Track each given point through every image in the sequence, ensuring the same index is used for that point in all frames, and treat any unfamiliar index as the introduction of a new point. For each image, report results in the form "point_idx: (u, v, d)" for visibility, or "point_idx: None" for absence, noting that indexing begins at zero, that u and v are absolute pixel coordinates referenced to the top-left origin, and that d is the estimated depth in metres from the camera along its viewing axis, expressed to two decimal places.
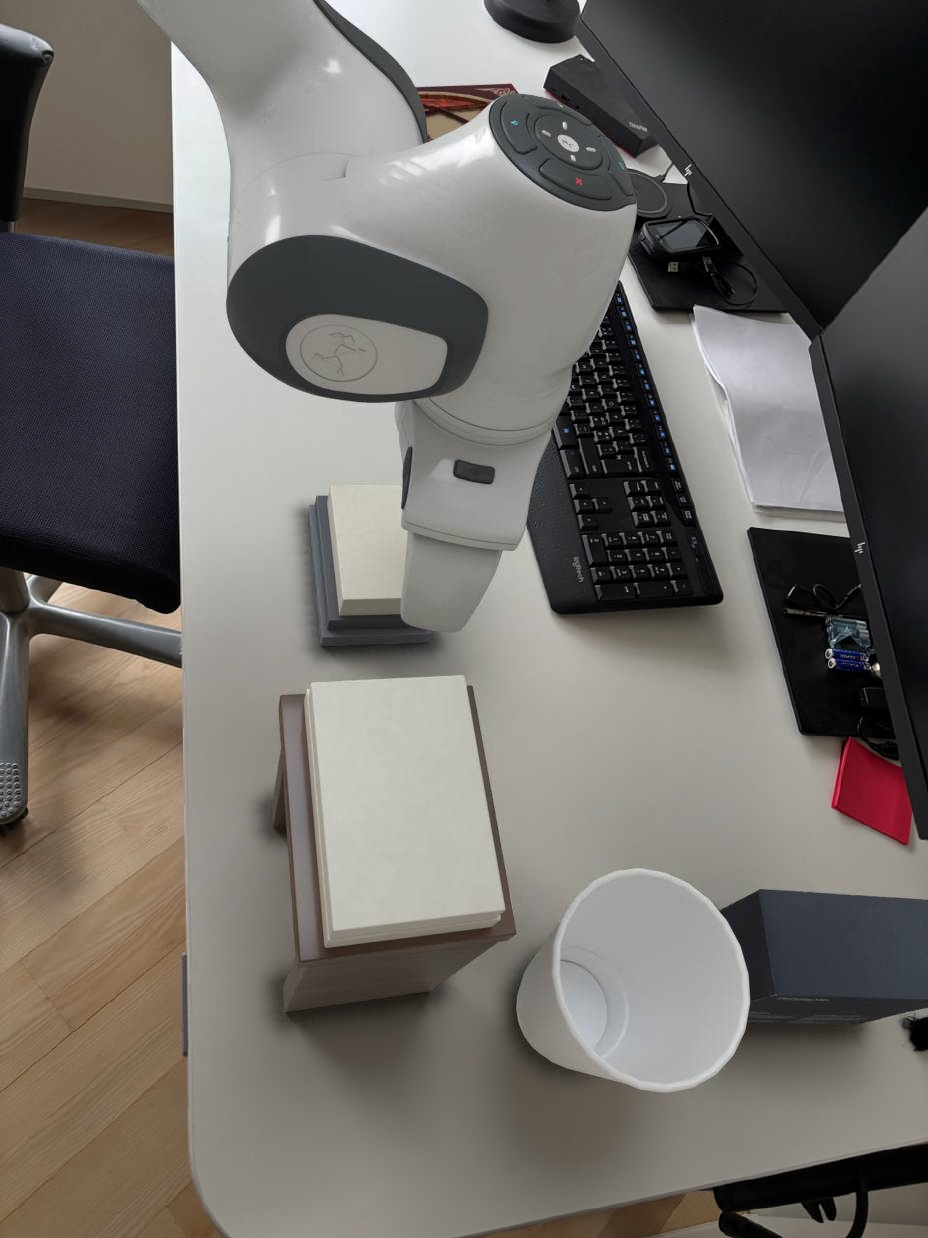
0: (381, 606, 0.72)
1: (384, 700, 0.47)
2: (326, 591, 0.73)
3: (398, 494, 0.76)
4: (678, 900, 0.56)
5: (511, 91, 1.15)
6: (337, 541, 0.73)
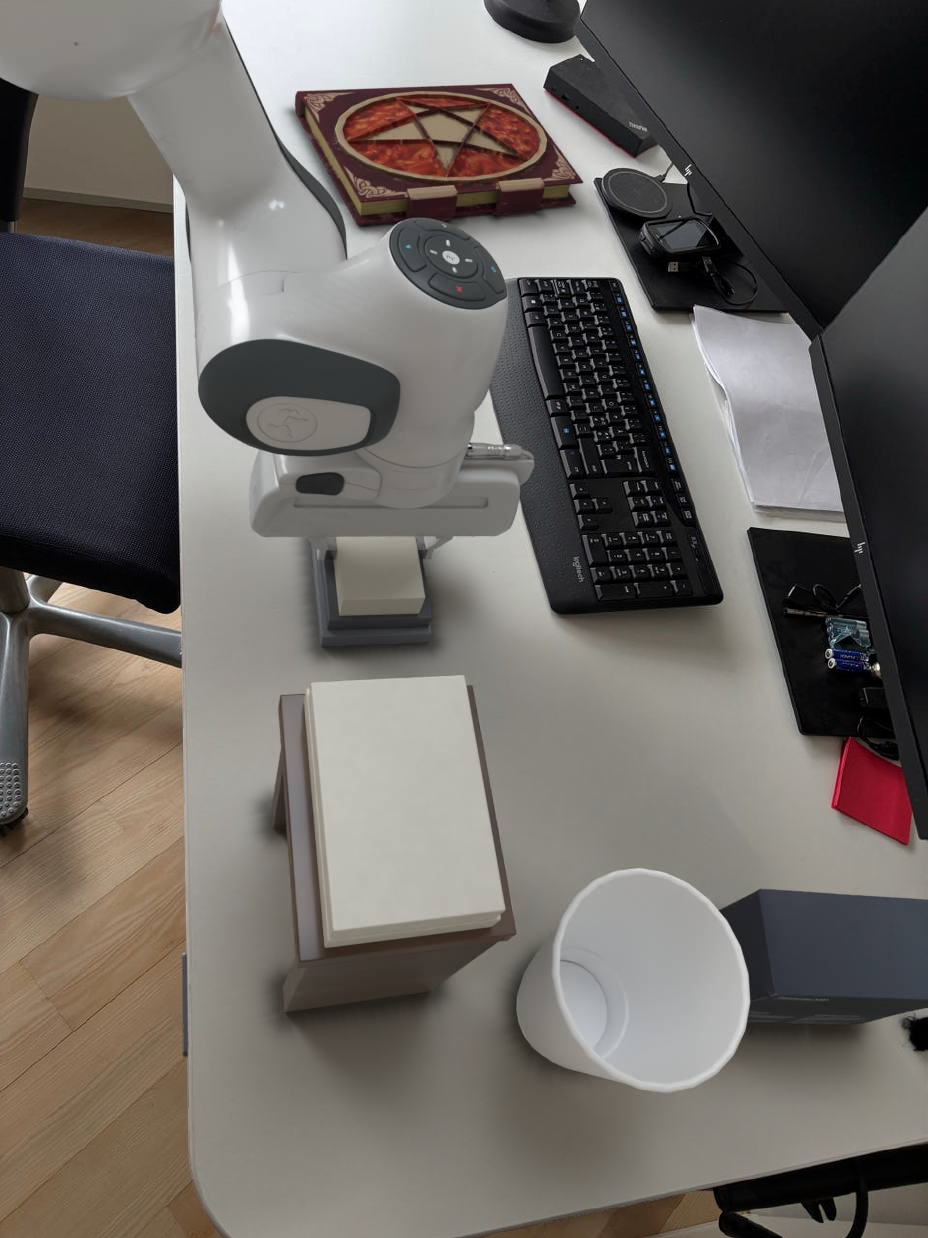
0: (381, 606, 0.72)
1: (384, 700, 0.47)
2: (326, 591, 0.73)
3: None
4: (678, 900, 0.56)
5: (511, 91, 1.15)
6: (337, 541, 0.73)
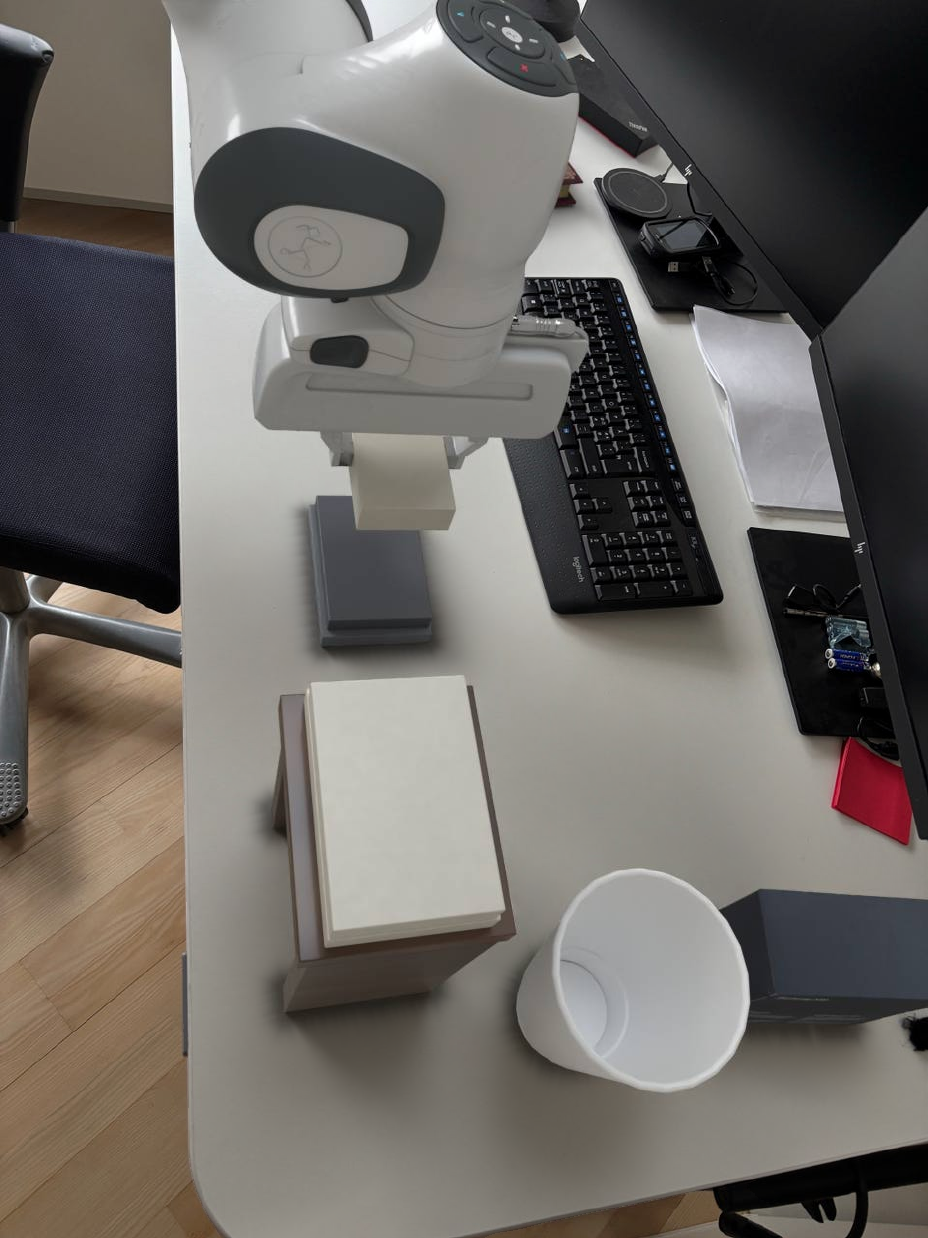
0: (405, 519, 0.62)
1: (384, 700, 0.47)
2: (326, 591, 0.73)
3: None
4: (678, 900, 0.56)
5: None
6: (354, 444, 0.63)
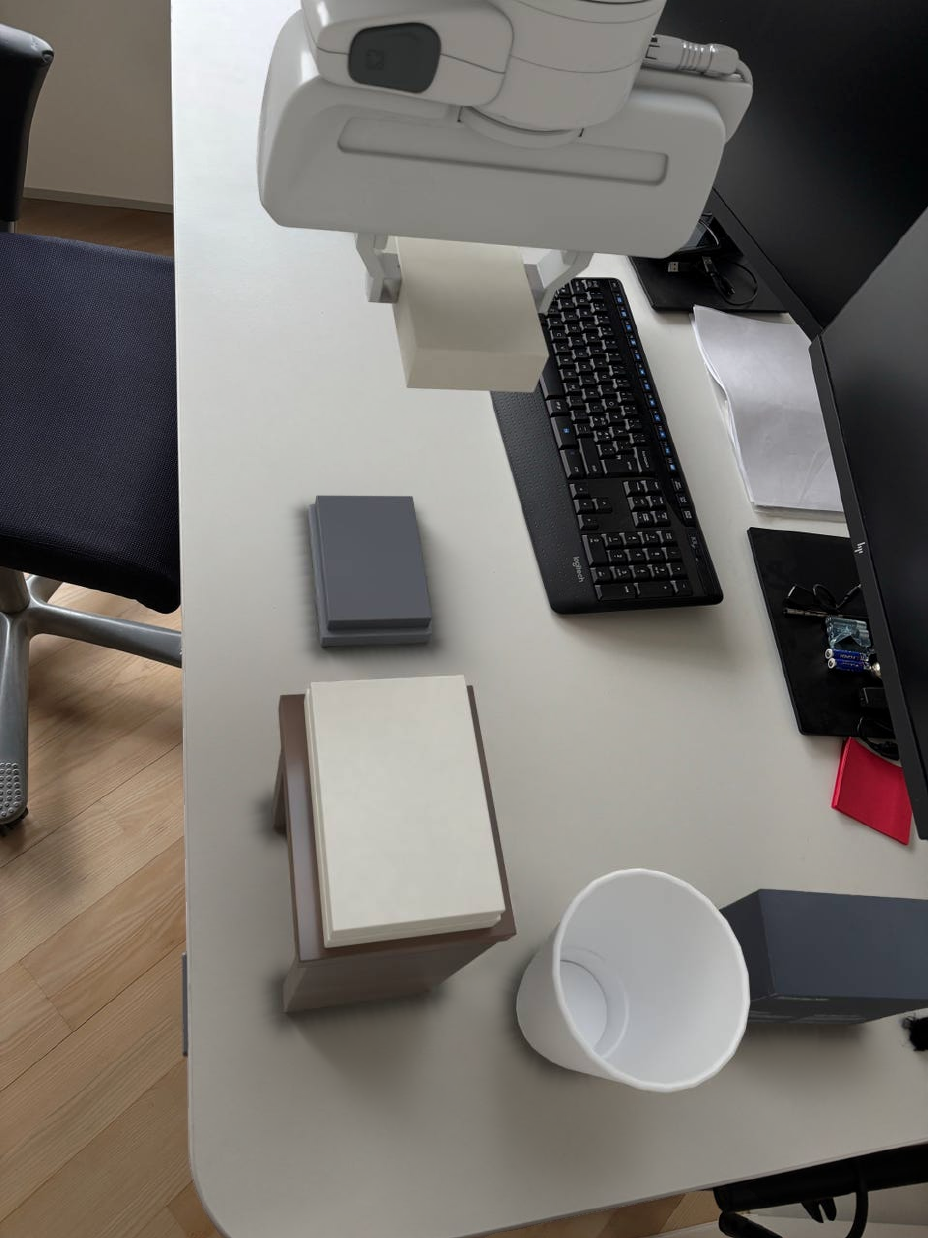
0: (476, 371, 0.44)
1: (384, 700, 0.47)
2: (326, 591, 0.73)
3: None
4: (678, 900, 0.56)
5: None
6: (402, 266, 0.44)
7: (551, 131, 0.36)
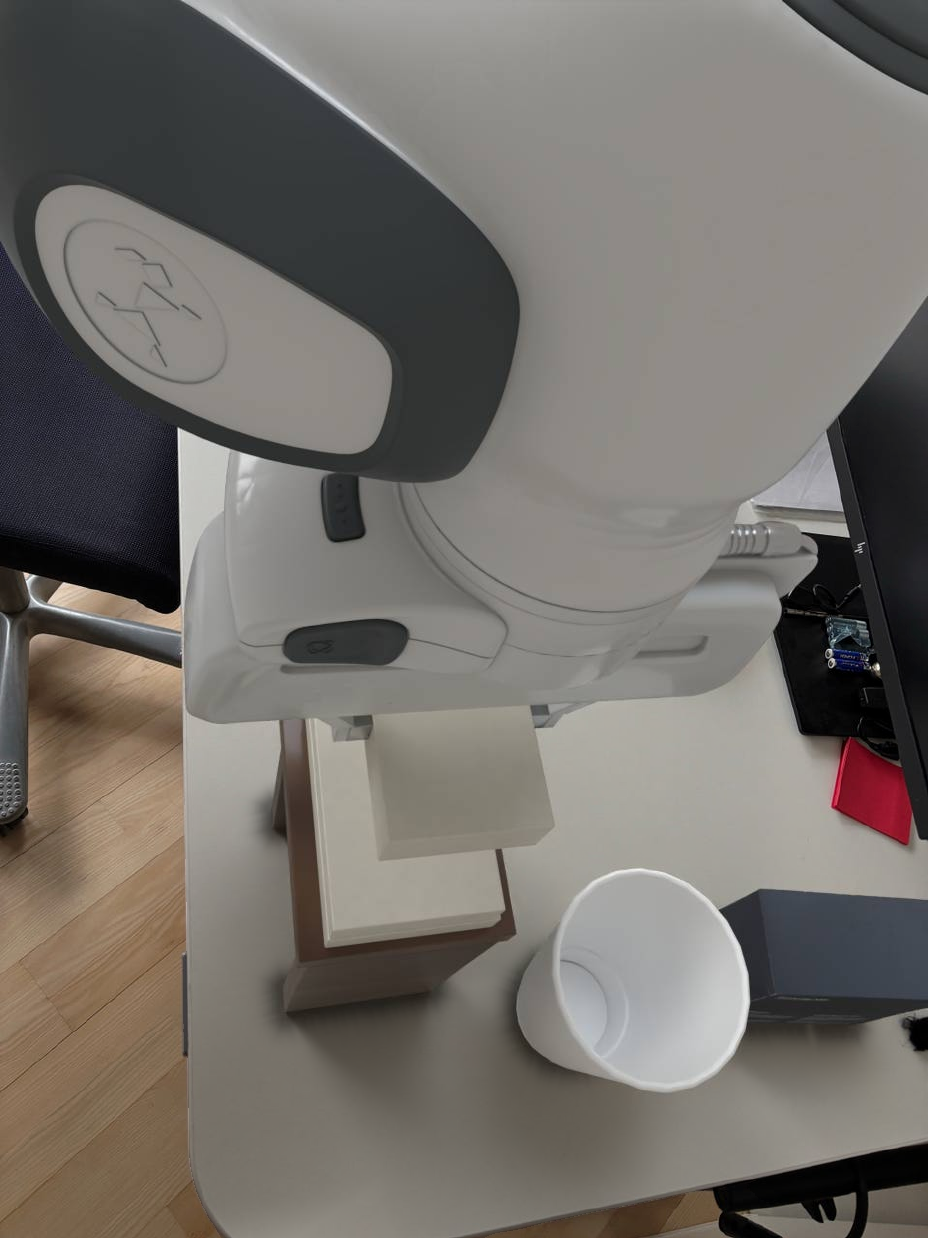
0: (465, 844, 0.35)
1: None
2: None
3: None
4: (678, 900, 0.56)
5: None
6: None
7: None
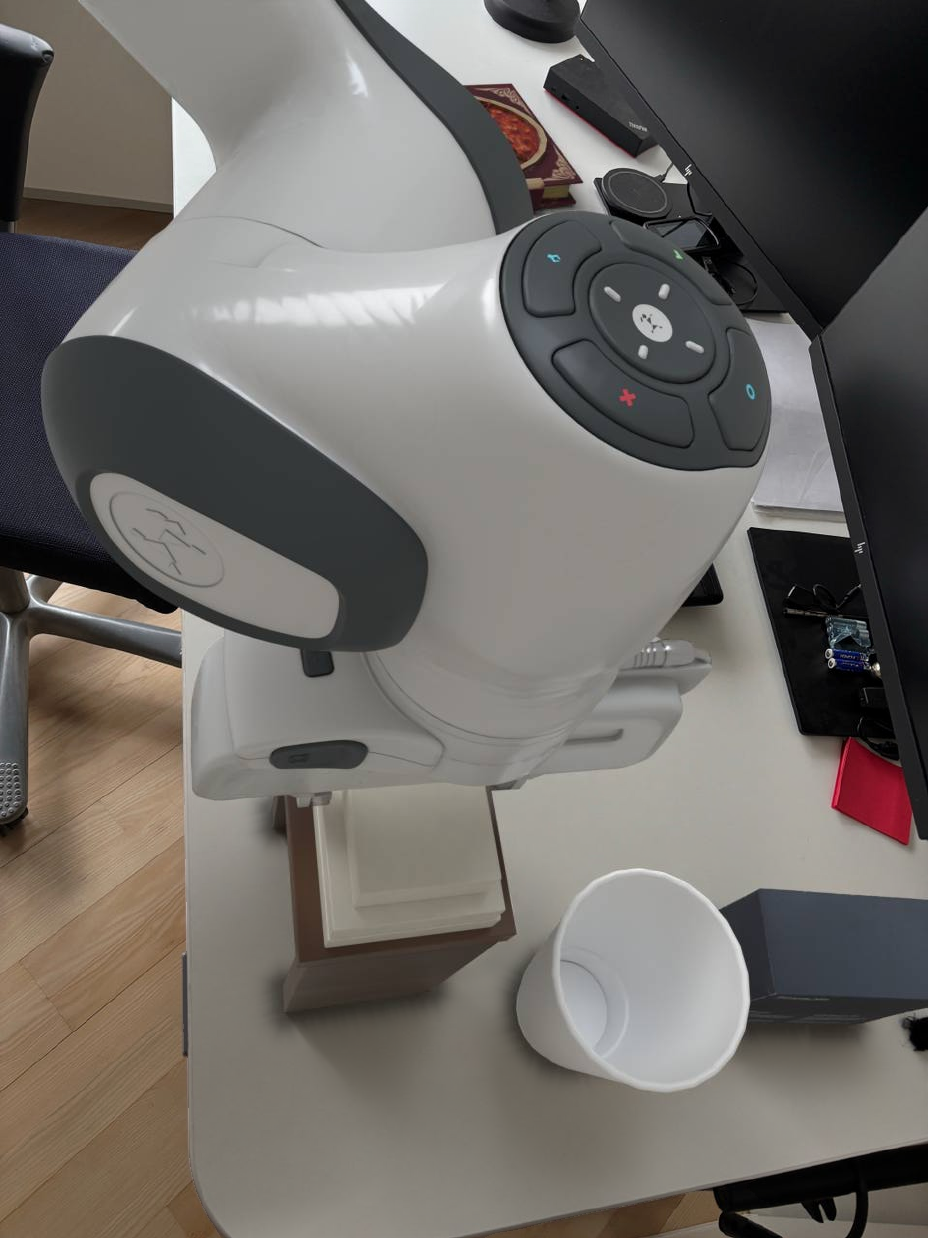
0: (425, 894, 0.42)
1: None
2: None
3: None
4: (678, 900, 0.56)
5: (511, 91, 1.15)
6: None
7: None
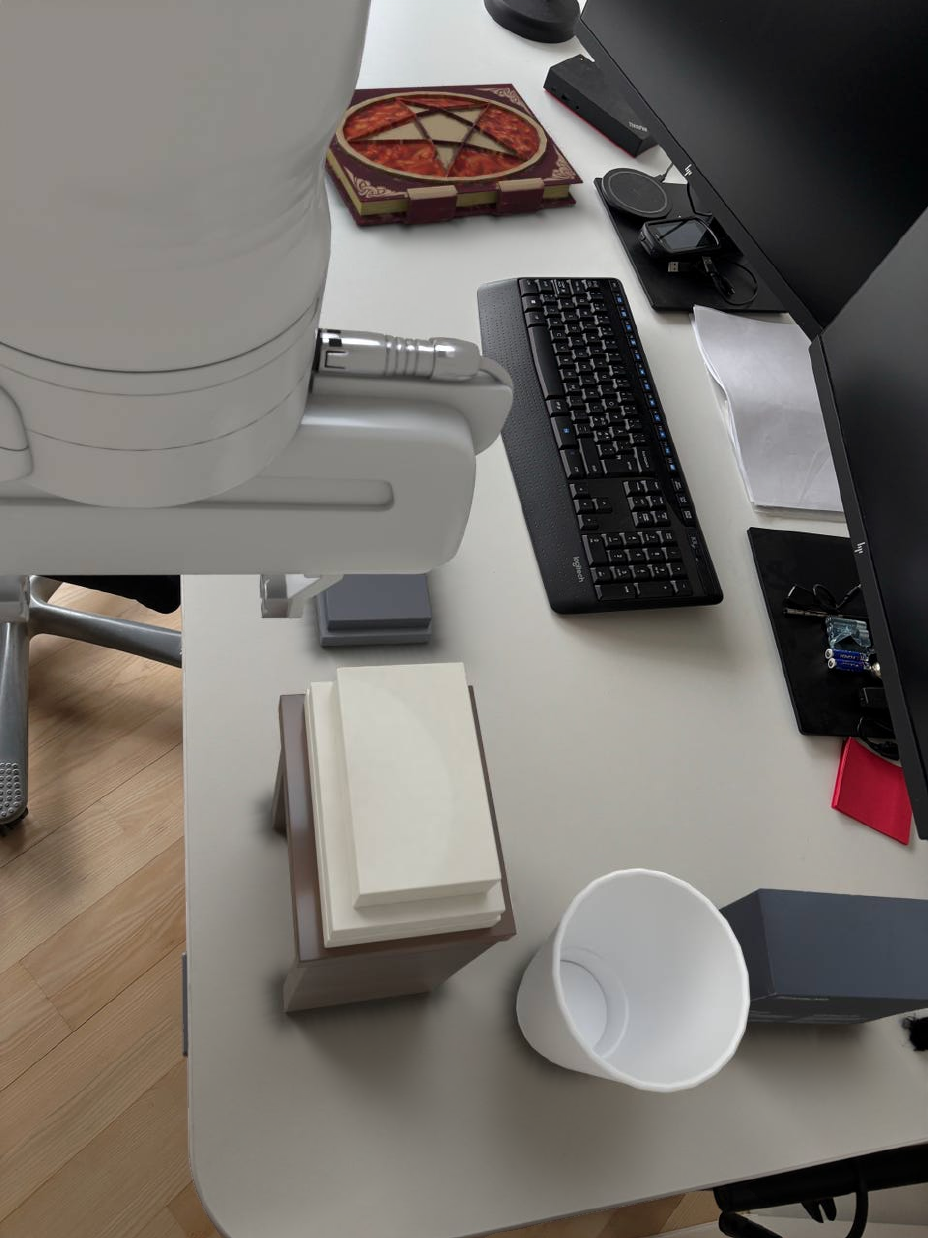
0: (425, 894, 0.42)
1: None
2: (326, 591, 0.73)
3: (450, 680, 0.46)
4: (678, 900, 0.56)
5: (511, 91, 1.15)
6: (349, 777, 0.42)
7: None
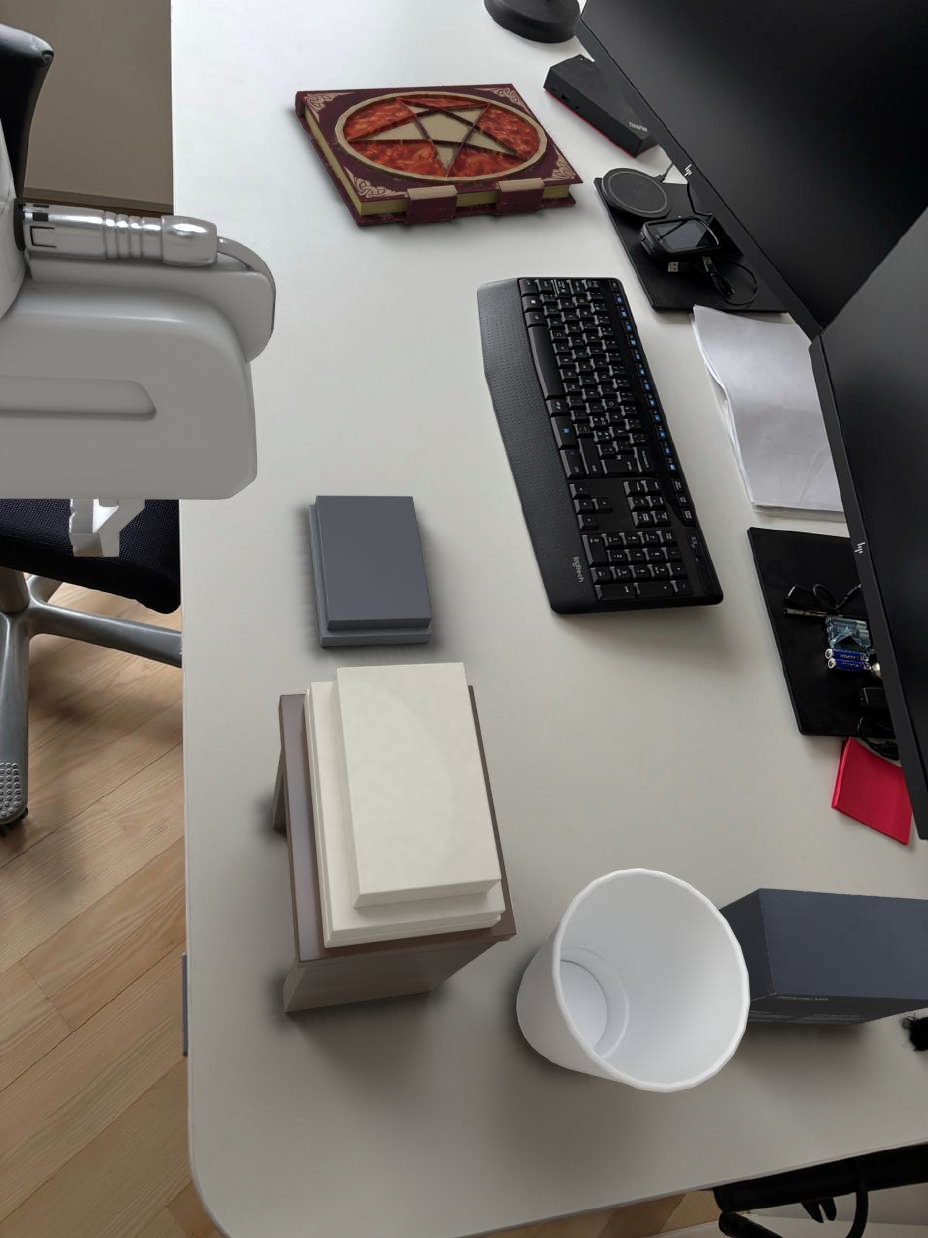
0: (425, 894, 0.42)
1: None
2: (326, 591, 0.73)
3: (450, 680, 0.46)
4: (678, 900, 0.56)
5: (511, 91, 1.15)
6: (349, 777, 0.42)
7: None
